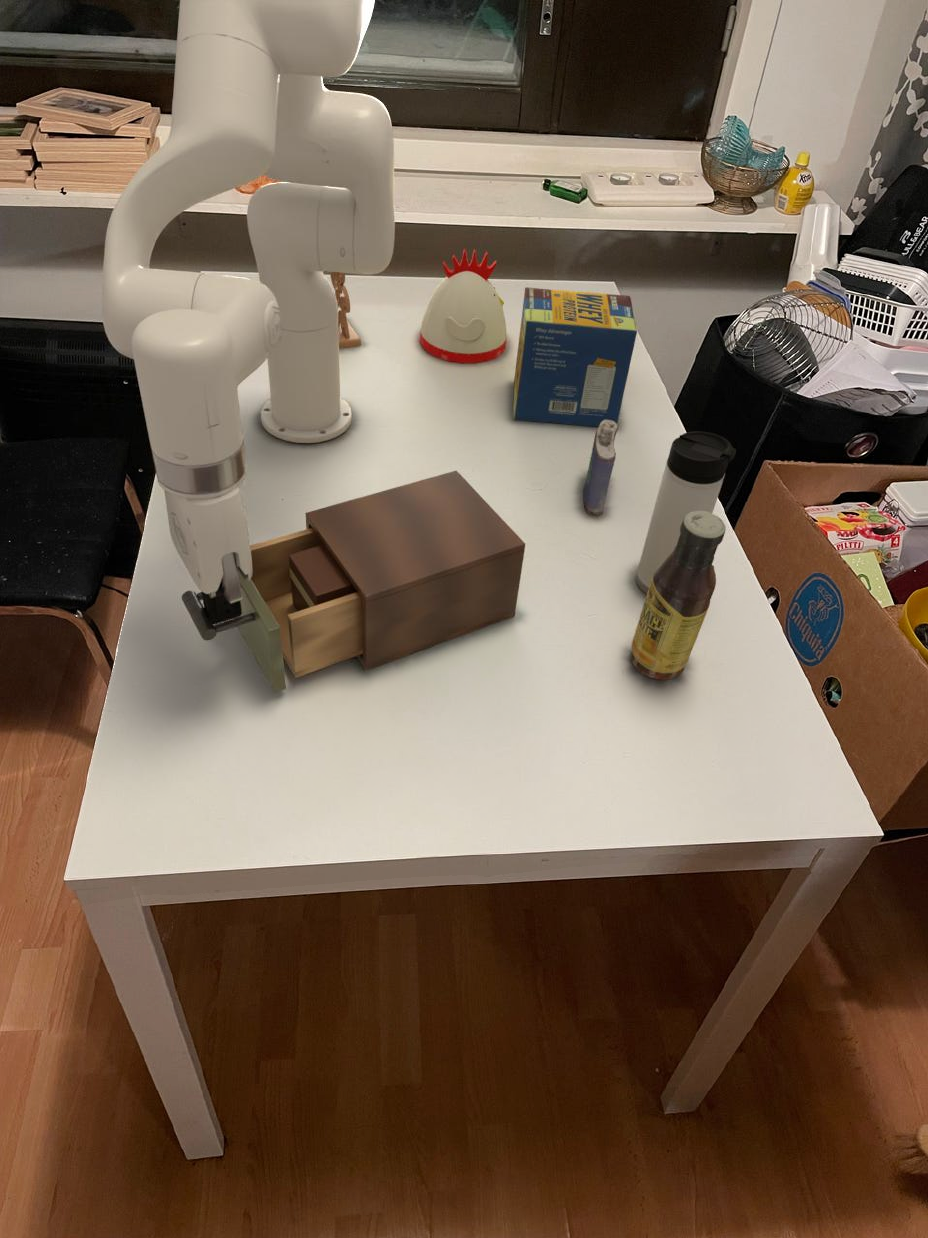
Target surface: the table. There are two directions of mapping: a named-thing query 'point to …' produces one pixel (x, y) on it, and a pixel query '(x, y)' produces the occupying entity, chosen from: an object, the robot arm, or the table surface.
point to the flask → (600, 468)
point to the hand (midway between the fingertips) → (223, 615)
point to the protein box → (573, 356)
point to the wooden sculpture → (343, 312)
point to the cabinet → (423, 563)
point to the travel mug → (683, 494)
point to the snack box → (316, 578)
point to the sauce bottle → (678, 599)
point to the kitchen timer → (465, 315)
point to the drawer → (286, 615)
